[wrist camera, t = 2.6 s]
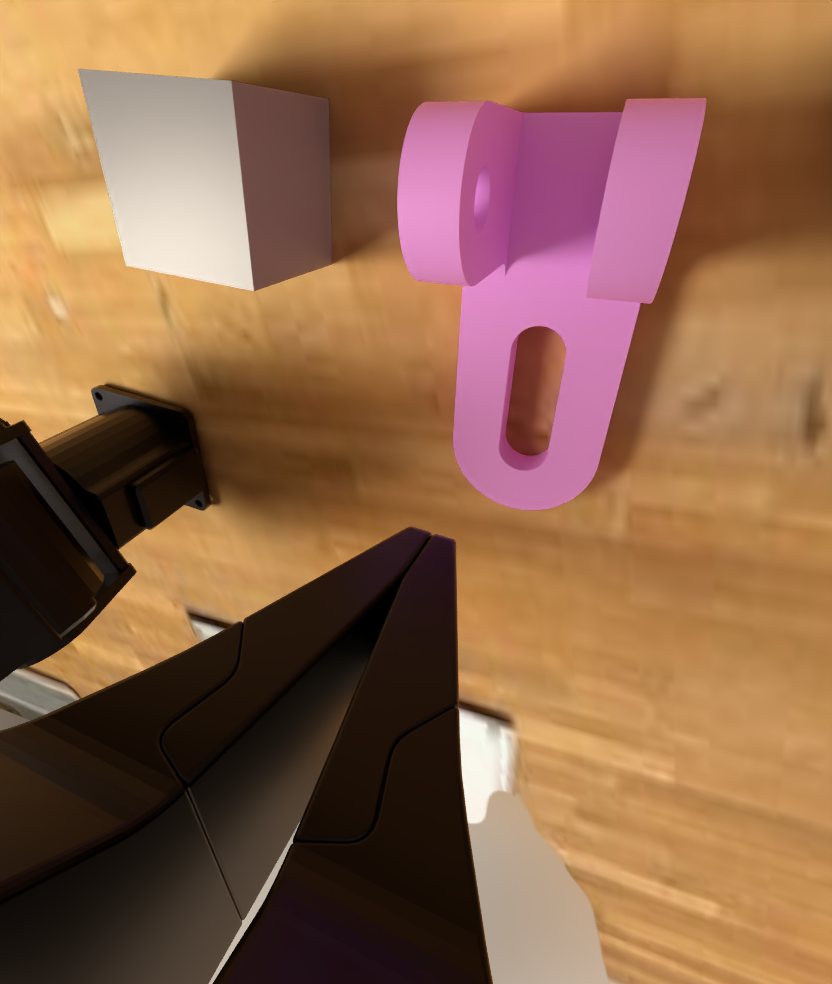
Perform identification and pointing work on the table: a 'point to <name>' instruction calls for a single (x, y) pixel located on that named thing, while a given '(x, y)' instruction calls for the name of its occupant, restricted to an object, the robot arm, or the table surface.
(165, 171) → the grey cube
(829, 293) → the table surface
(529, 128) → the bracket
